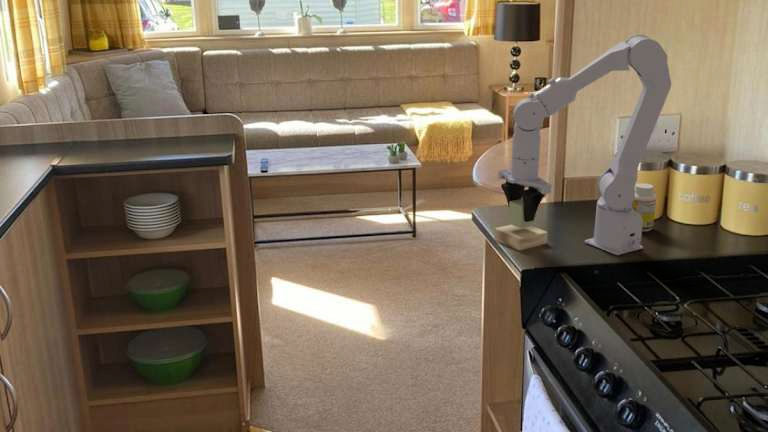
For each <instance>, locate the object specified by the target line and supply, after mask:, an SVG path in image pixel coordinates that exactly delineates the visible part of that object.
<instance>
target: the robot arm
mask: <svg viewBox="0 0 768 432" xmlns="http://www.w3.org/2000/svg"><path fill="white" fill-rule="evenodd" d="M668 58H669V57H668V55H667V52H665V50H664V48H663V46H662V45H661V44H660V43H659V42H658V41H657V40H655V39H652V38H650V37H648V36H646V35H644V34H635V35H632V36H630V37H629V38H628V39H626V40H625V41H621V42H619V43H617V44H616V45H614V46H613V47H611V48H609V49H608V50H607V51H605V52H603V53H602V54H601V55H600V56H598V57H597V58H595V59H594V60H593V61H591V62H590V63H588V64H587V65H585V66H584V67H582V68H581V69H579V70H578V71H577V72H575V73H574V74H573V75H571V76H570V77H564V76H563V77H562V76H559V77H557V78H556V79H555V78H554V77H552V78H550V79H548V81H547V82H548V84H547V85H545V86H544V87H542V88H540V89H539V90H537V91H536V92H530V93H529V94H528V97H529V98H523V99H521V100H519V101H518V102H517V103H516V104H515V106H514V108H513V110H512V116H513V118H514V120H515V122H514V126H513V135H512V144H511V145H512V148H511V165H510V167H511V169H508V168H501V169H498V176H497V178H498V180H505V183H501V186H500V187H501V189H502V190H503V193H504V195H505V198H506V201H507V205H508V207H509V203H510V201H514V200H518V199H523V204H524V221H526V222H529V221H533V220H534V217H535V218H536V214H537V211H538V208H539V206H540V204H541V202H542V200H543V199H544V198H545V196H546V195H548V194H551V193H552V183H550V182H548V181H545V180H544V179H543V178H541V177H540V176H539V169H540V168H539V167H540V150H541V133H540V132H541V125H543V123H544V120H545V118H549V117H551V116H553V115H555V114H556V113H557V112H559V111H560V110H562V109H563V108H565V107H567V106H568V105H570V104H571V103H573V102H574V101H575V100H576V97H577V95H578V94H577V93H578V91H581V90H582V89H584V88H586V87H587V86H590V85H591V84H592V83H594V82H596V81H597V80H599V79H601V78H602V77H604V76H605V75H608V74H609V73H611V72H613V71H614V72H618V71H623V72H624V71H625V72H626V71H627V72H628V71H629V72H630V67H631V68H632V69H633V70H634V71H635V72H636V74H637V77H638V79H639V80H640V83H641V84H642V88H641V89H642V90H641V92H640V94H639V97H638V100H637V102H636V105H635V106H634V109H633V112H632V115H631V117H630V119H629V122H628V124H627V126H626V128H625V132H624V133H623V134H624V135H623V137H622V139H621V142H620V145H619V146H618V149H617V152H616V155H615V157H614V158H613V159H612V160H611V162H609V165H608V167H607V168H606V170H605V171H604V172H603V173H602V174H601V175H600V177H599V178H598V180H597V189H598V191H599V192H600V194H601V195H600V197H599V199H598V200H597V201H596V210H595V221H594V222H595V223H594V230H593V231H594V232H593V237H592V238H588V239H585V240H584V243H585V244H588V245H589V246H593V247H595V248H598V249H600V250H603V251H604V252H605V251H606V252H608V253H610V254H613V255H615V256H620V255H623V254H628V253H630V252H634V251H635V252H636V251H639V250H641V249H642V250H643V247H644V246H643V245H642V244H641V240H642V233H643V232H642V226H643V219H642V216H641V215H640V214H639V213H637V212H635V211H634V210H633V208H632V202H633V201H634V198H635V185H636V184H637V181H638V173H639V172H638V171H639V166H640V164H641V161H642V159H643V156H644V154H645V151H646V149H647V146H648V144H649V141H650V139H651V136H652V134H653V132H654V130H655V127H656V125H657V122H658V119H659V118H660V117H659V116H660V115H661V112H662V110H663V107H664V105H665V102H666V99H667V97H668V95H669V93H670V90H671V86H672V80H671V76H670V75H671V74H670V68H669V65H668ZM526 188H528V189H526Z"/></svg>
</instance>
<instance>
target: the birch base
mask: <svg viewBox="0 0 768 432" xmlns="http://www.w3.org/2000/svg"><path fill="white" fill-rule="evenodd" d="M493 240H494V241H496V242H499V243H501V244H503V245H506V246H508V247H510V248H512V249H514V250H518V251H524V250H527V249H531V248H534V247H539V246H542V244H543V245H546V243H547V244H548V231H546V230H544V229H541V228H538V227H537V226H536V227H535V226H529V227H525V228H518V227H516V226H514V225H511V224H509V225H508V224H507V225H503V226H499V227H495V228H494V239H493Z"/></svg>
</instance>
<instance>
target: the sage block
mask: <svg viewBox="0 0 768 432" xmlns="http://www.w3.org/2000/svg"><path fill="white" fill-rule="evenodd" d="M508 224H509V225H514V226H516V227H518V228H525V227H529V226H533V227H535V225H536V216H535V217H534V220H533V221H529V222H526V221H524V204H523V198H522V199H518V200H514V201H510V203H509V206H508Z"/></svg>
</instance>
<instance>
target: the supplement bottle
mask: <svg viewBox="0 0 768 432" xmlns="http://www.w3.org/2000/svg"><path fill="white" fill-rule="evenodd" d="M656 205H657V195H656V194H655V193H654V185H652V184H650V183H644V182H643V183H636V184H635V198H634V201H633V202H632V208H633V210H634V211H635V212H637V213H639V214H640V215H641V216H642V219H643V226H642V233H643V232H650V231H651V230H653V228H654V222H655V221H654V220H655V213H656Z"/></svg>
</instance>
